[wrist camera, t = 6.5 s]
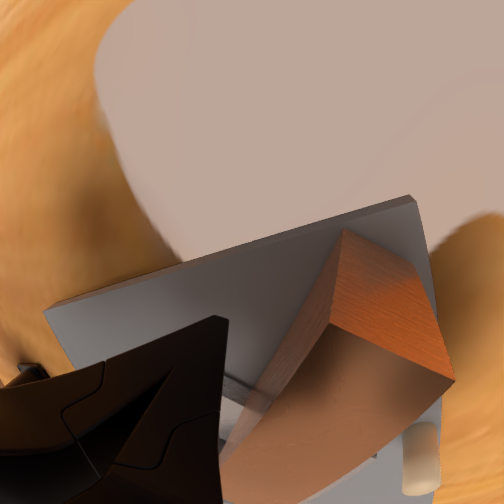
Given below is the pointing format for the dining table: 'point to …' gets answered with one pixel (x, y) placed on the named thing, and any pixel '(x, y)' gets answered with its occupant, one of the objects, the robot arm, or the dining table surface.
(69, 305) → the slate board
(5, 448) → the robot arm
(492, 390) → the dining table surface
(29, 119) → the dining table surface
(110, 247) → the dining table surface
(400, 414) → the flange plate
